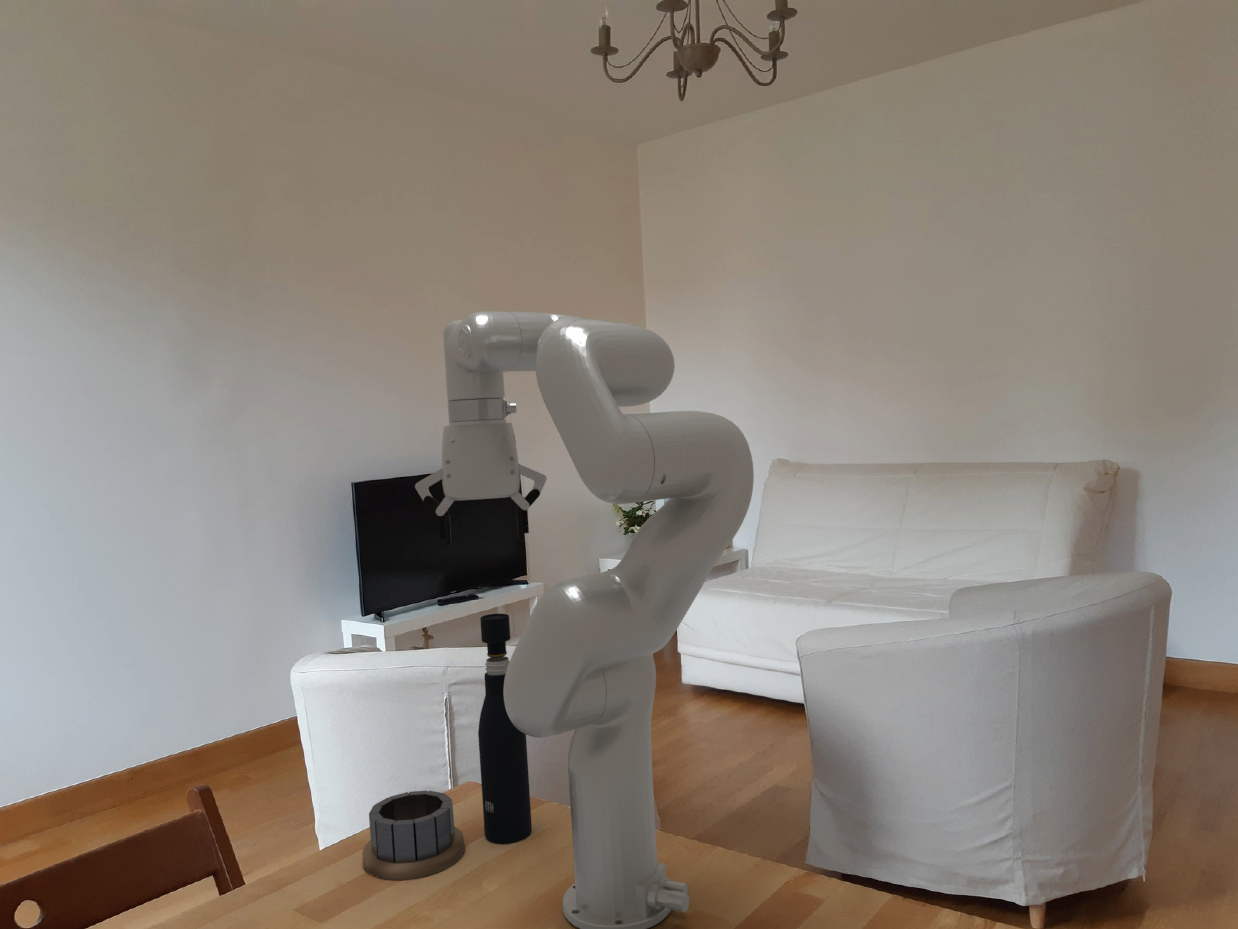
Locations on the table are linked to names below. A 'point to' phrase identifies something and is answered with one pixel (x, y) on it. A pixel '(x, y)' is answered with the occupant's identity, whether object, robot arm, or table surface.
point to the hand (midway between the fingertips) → (485, 541)
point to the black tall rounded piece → (501, 746)
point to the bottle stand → (412, 836)
